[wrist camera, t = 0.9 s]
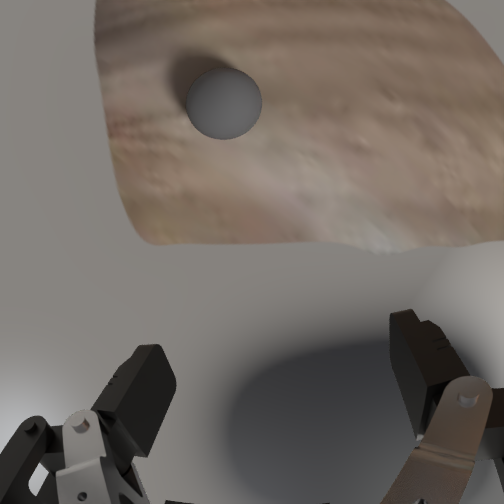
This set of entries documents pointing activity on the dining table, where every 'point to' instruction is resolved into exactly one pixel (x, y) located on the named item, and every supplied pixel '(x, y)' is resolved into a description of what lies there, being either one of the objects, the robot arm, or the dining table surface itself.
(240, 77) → the gray ball
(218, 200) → the dining table surface
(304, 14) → the dining table surface
